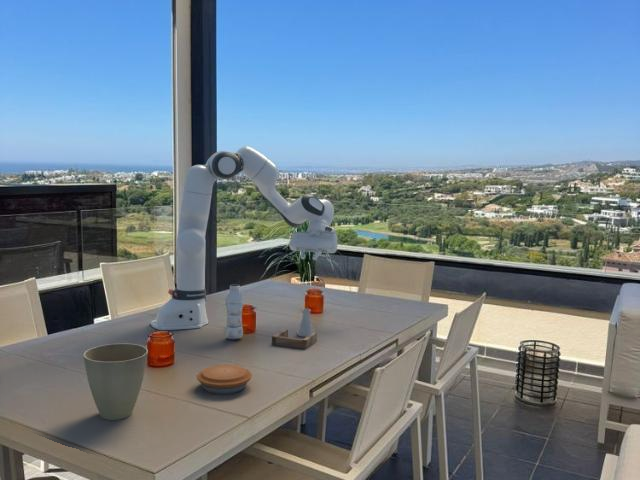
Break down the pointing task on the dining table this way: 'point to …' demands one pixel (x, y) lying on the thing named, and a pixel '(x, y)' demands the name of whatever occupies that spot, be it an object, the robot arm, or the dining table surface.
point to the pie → (224, 379)
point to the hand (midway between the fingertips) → (308, 258)
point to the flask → (305, 324)
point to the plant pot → (115, 377)
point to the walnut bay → (293, 340)
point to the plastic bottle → (234, 313)
